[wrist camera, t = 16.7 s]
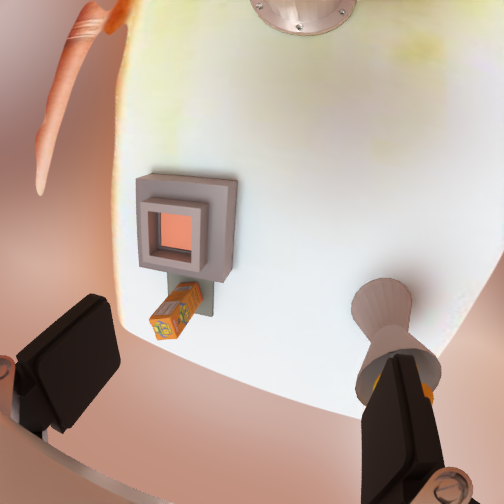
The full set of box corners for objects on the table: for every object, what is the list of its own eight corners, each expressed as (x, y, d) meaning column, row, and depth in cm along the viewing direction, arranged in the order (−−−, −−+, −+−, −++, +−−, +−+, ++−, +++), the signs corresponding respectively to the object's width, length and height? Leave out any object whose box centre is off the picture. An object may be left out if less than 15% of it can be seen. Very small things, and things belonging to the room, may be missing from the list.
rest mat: (168, 264, 45) (166, 266, 45) (214, 273, 44) (212, 274, 43) (170, 305, 48) (168, 307, 47) (212, 315, 47) (211, 316, 46)
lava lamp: (343, 329, 43) (329, 590, 11) (357, 272, 39) (379, 573, 8) (401, 336, 41) (437, 578, 10) (420, 281, 38) (511, 543, 6)
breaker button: (171, 205, 40) (160, 211, 37) (203, 209, 39) (194, 216, 37) (171, 237, 42) (161, 245, 39) (202, 242, 41) (193, 251, 38)
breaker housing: (151, 173, 40) (124, 182, 35) (237, 180, 38) (221, 190, 33) (153, 255, 45) (129, 274, 39) (231, 269, 43) (216, 292, 37)
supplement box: (205, 300, 45) (178, 341, 36) (184, 302, 46) (154, 341, 37) (199, 280, 44) (169, 318, 35) (178, 282, 45) (145, 318, 36)
